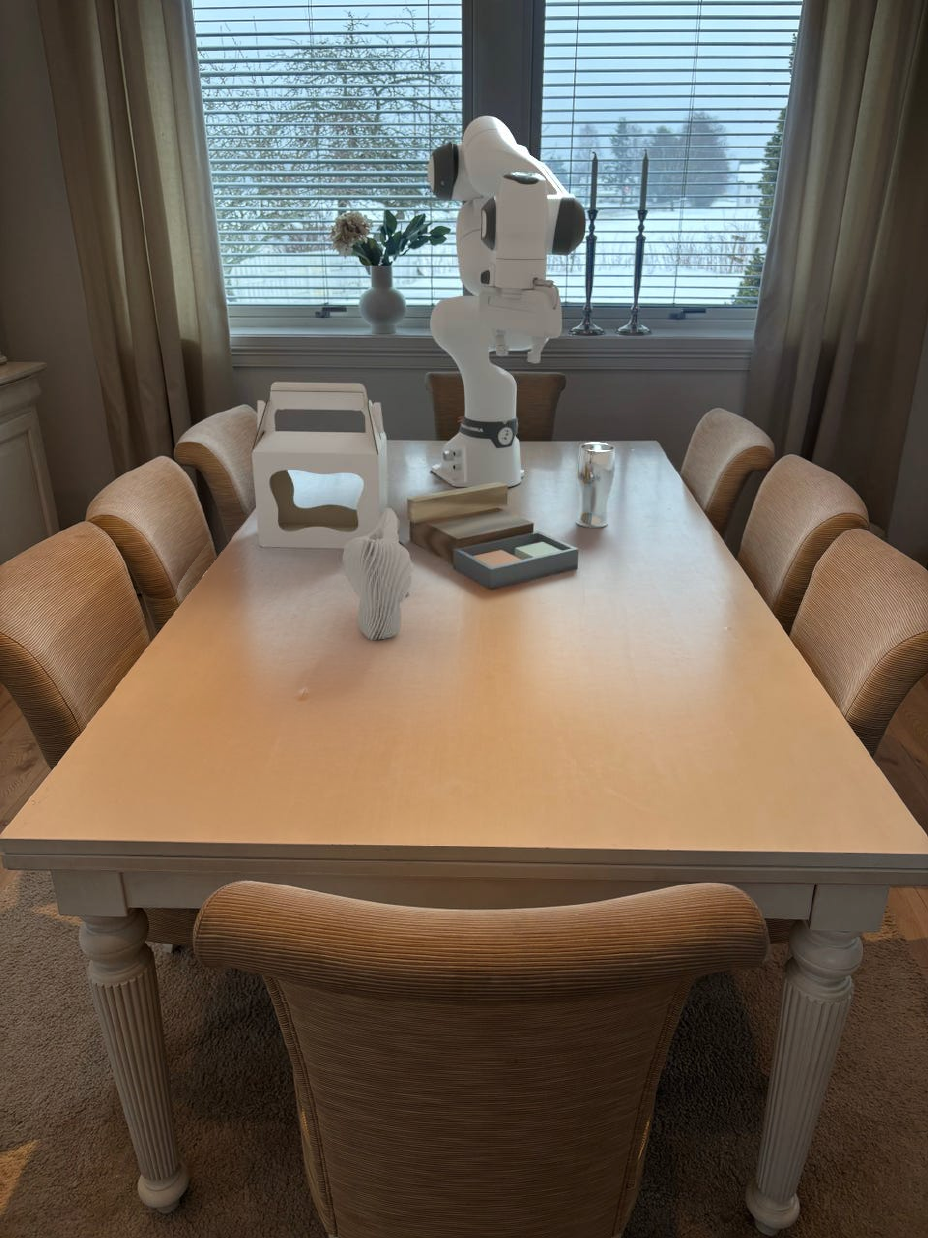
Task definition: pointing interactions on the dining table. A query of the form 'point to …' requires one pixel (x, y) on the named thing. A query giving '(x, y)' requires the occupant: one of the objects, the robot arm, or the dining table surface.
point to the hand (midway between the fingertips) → (517, 358)
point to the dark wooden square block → (467, 531)
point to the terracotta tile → (497, 558)
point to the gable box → (317, 467)
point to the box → (518, 569)
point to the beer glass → (594, 483)
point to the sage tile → (534, 550)
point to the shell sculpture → (379, 577)
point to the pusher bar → (456, 502)
